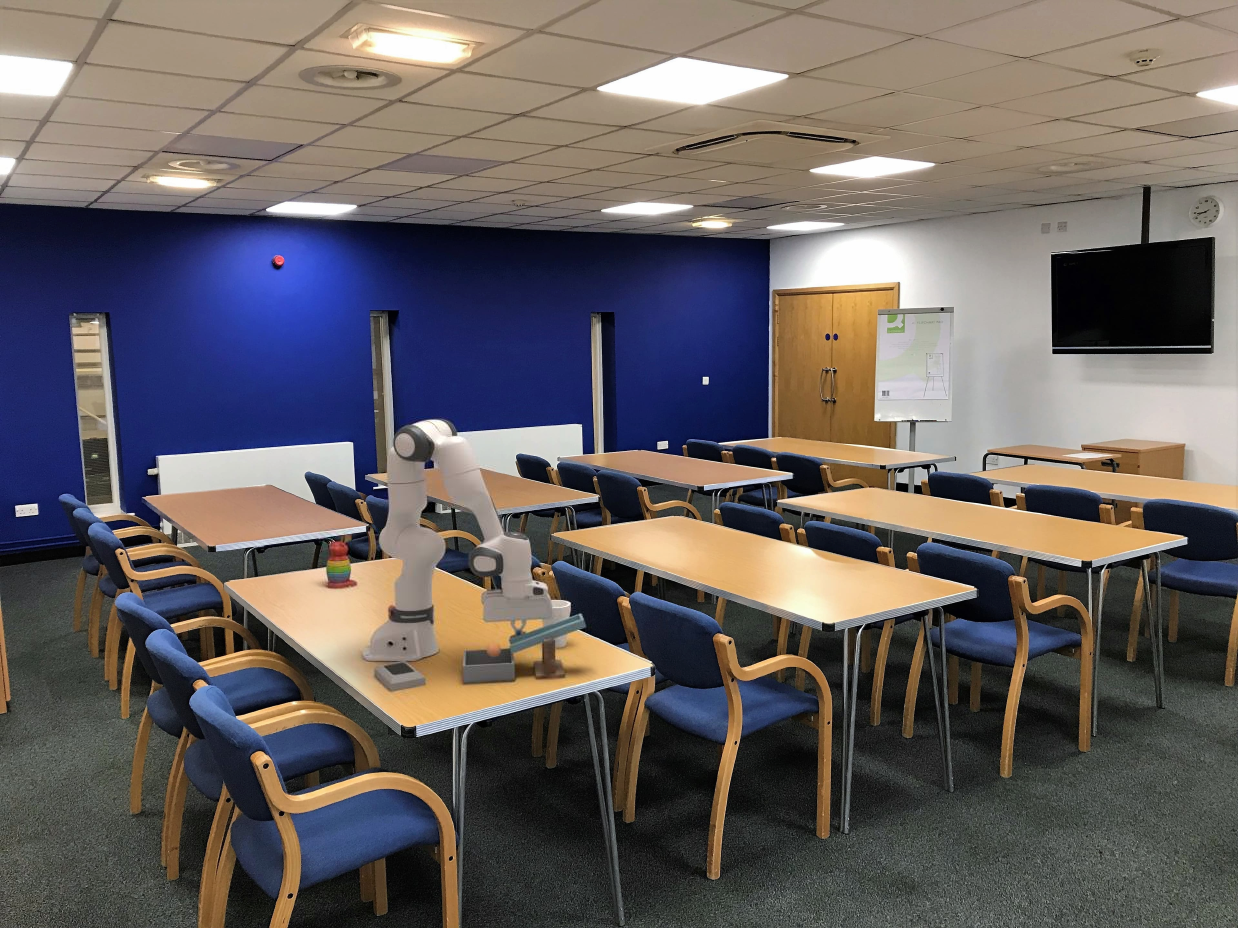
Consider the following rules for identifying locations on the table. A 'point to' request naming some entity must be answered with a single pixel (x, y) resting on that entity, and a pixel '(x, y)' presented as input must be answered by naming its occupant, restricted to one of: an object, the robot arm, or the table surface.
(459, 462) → the robot arm
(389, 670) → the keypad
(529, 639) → the chute lever
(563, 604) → the foam cup
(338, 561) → the stacking bear
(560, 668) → the pivot stand
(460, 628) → the table surface
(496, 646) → the ball
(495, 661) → the tray
